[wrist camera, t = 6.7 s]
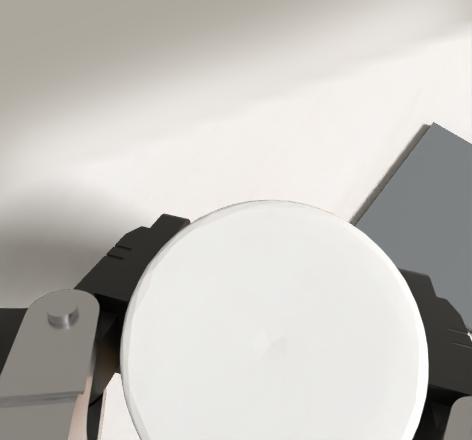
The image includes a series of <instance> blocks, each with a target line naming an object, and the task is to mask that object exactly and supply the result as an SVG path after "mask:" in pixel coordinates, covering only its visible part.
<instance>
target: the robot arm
mask: <svg viewBox="0 0 472 440" xmlns="http://www.w3.org/2000/svg"><path fill="white" fill-rule="evenodd" d="M189 224H190V220H189V219H186V218H181V217H177V216H173V215H168V214H162V215H161V216H160V217H159V218H158V220H157V221H156V222H155V223H154V224H153V225H152V226H151V228H147V227H143V226H141V227H139V228H137V229H135V230H133V231H131V232H129V233H127V234H125V235H124V236H123V237H122V238H121V239H120V241H119V242H118V243H117V244H116V245H115V247H113V248H112V249H111V250H110V251H109V252H108V253H107V256H104V257H103V258H102V259H101V260H100V262H99V263H98V264H97V265H96V266H95V267H94V268H93V269H92V270H91V271H90V272H89V273H88V274H87V275H86V276H85V277H84V278H83V279H82V280H81V281H80V283H79V284H78V285H77V286H76V287H75V288H74V289H68V290H60V291H56V292H52V293H49V294H47V295H45V296H43V297H41V298H39V299H38V300H37V301H35V302H34V303H33V304H32V305H31V306H30V307H29V308H24V309H20V308H0V440H101V434H102V426H103V418H104V410H105V402H106V386H107V385H108V383H109V382H110V380H111V378H112V377H113V375H114V373H115V372H116V373H119V374H121V370H120V347H121V337H122V330H123V325H124V320H125V315H126V312H127V308H128V305H129V302H130V299H131V297H132V294H133V292H134V290H135V288H136V286H137V284H138V282H139V280H140V278H141V276H142V274H143V273H144V271H145V269H146V268H147V266H148V264H149V263H150V262H151V261H152V259H153V258H154V257H155V256H156V254H157V253H158V252H159V251H160V249H161V248H162V247H163V246H164V245H165V244H166V243H167V242H168V241H169V240H170V239H171V238H172V237H174V236H175V235H176V234H177V233H178V232H180V231H181V230H182V229H183V228H185V227H186V226H188V225H189ZM397 269H398V271H399V272H400V273H401V275H402V276H403V278H404V279H405V281H406V283H407V285H408V287H409V289H410V291H411V293H412V295H413V297H414V299H415V302H416V304H417V307H418V310H419V313H420V316H421V319H422V323H423V326H424V330H425V336H426V341H427V348H428V385H427V394H426V399H425V403H424V407H423V411H422V414H421V418H420V422H419V425H418V427H417V430H416V432H415V434H414V436H413V439H412V440H472V341H471V339H470V336H468V335H467V334H468V331H467V329H466V326H465V324H464V321H463V319H462V317H461V315H460V314H459V313H458V311H457V310H456V309H455V308H454V307H453V306H452V305H451V304H450V302H449V301H448V300H447V299H444V298H440V297H437V296H436V294H435V291H434V288H433V285H432V282H431V279H430V277H429V275H427V274H423V273H418V272H414V271H410V270H405V269H401V268H397Z"/></svg>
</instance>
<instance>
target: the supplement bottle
mask: <svg viewBox="0 0 472 440" xmlns="http://www.w3.org/2000/svg"><path fill="white" fill-rule="evenodd" d="M120 370H121V379H122V385H123V390H124V396H125V400H126V404H127V408H128V410H129V413H130V416H131V419H132V421H133V424H134V426H135V429H136V431H137V433H138V435H139V437H140V439H141V440H412V439H413V436H414V434H415V432H416V430H417V427H418V425H419V422H420V418H421V414H422V411H423V407H424V403H425V399H426V394H427V385H428V348H427V341H426V336H425V330H424V326H423V323H422V319H421V316H420V313H419V310H418V307H417V304H416V302H415V299H414V297H413V295H412V293H411V291H410V289H409V287H408V285H407V283H406V281H405V279H404V278H403V276H402V275H401V273H400V272H399V271H398V269H397V268H396V266H395V265H394V264H393V262H392V261H391V259H390V258H389V257H388V256H387V255H386V254H385V253H384V252H383V250H382V249H381V248H380V247H379V246H378V245H377V244H376V243H374V242H373V241H372V240H371V239H370V238H369V237H368V236H367V235H366V234H365V233H363V232H362V231H361V230H359V229H358V228H356V227H355V226H353V225H352V224H350V223H348V222H347V221H345V220H343V219H341V218H339V217H337V216H335V215H334V214H332V213H329V212H327V211H324V210H322V209H319V208H316V207H313V206H309V205H305V204H301V203H296V202H291V201H280V200H259V201H248V202H243V203H238V204H233V205H230V206H227V207H224V208H221V209H218V210H216V211H214V212H211V213H209V214H207V215H205V216H203V217H201V218H198V219H197V220H195V221H194V222H192V223H191V224H189V225H188V226H186V227H185V228H183V229H182V230H181V231H180V232H178V233H177V234H176V235H175V236H174V237H172V238H171V239H170V240H169V241H168V242H167V243H166V244H165V245H164V246H163V247H162V248H161V249H160V251H159V252H158V253H157V254H156V256H155V257H154V258H153V259H152V261H151V262H150V263H149V264H148V266H147V268H146V269H145V271H144V273H143V274H142V276H141V278H140V280H139V282H138V284H137V286H136V288H135V290H134V292H133V294H132V297H131V299H130V302H129V305H128V308H127V312H126V315H125V320H124V325H123V330H122V337H121V347H120Z"/></svg>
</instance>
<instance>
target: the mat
mask: <svg viewBox="0 0 472 440" xmlns="http://www.w3.org/2000/svg"><path fill="white" fill-rule="evenodd" d="M355 227H356V228H358V229H359V230H361V231H362V232H363V233H365V234H366V235H367V236H368V237H369V238H370V239H371V240H372V241H373V242H374V243H376V244H377V245H378V246H379V247H380V248H381V249H382V250H383V252H384V253H385V254H386V255H387V256H388V257H389V258H390V259H391V261H392V262H393V264H394V265H395V266H396V268H401V269H405V270H410V271H414V272H418V273H423V274H427V275H429V277H430V279H431V282H432V285H433V288H434V291H435V294H436V296H437V297H440V298H444V299H447V300H448V301H449V302H450V304H451V305H452V306H453V307H454V308H455V309H456V310H457V311H458V313H459V314H460V315H461V317H462V319H463V321H464V324H465V326H466V328H467V329H468V330H469V331H471V332H472V144H470V143H469V142H467V141H465V140H464V139H462V138H460V137H458V136H457V135H455V134H453V133H451V132H450V131H448V130H446V129H445V128H443V127H441V126H439V125H438V124H436V123H434V122H433V124H432V125H431V126H430V128H429V129H428V130H427V131H426V133H425V134H424V135H423V137H422V138H421V139H420V141H419V142H418V143H417V145H416V146H415V147H414V149H413V150H412V151H411V153H410V154H409V155H408V157H407V158H406V159H405V161H404V162H403V163H402V165H401V166H400V167H399V169H398V170H397V171H396V172H395V174H394V175H393V176H392V178H391V179H390V180H389V182H388V183H387V184H386V186H385V187H384V188H383V190H382V191H381V192H380V194H379V195H378V196H377V198H376V199H375V200H374V202H373V203H372V204H371V206H370V207H369V208H368V210H367V211H366V212H365V214H364V215H363V216H362V217H361V219H360V220H359V221H358V223H357V224H356V225H355Z"/></svg>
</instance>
